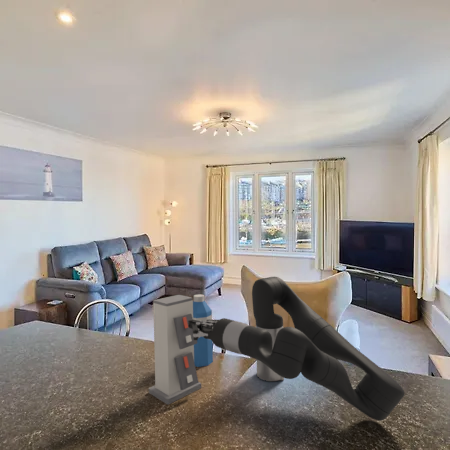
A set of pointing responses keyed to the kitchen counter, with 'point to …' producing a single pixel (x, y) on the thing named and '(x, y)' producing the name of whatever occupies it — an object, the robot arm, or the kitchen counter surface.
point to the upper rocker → (184, 331)
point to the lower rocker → (186, 370)
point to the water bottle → (203, 346)
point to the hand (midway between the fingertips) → (190, 323)
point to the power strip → (169, 348)
